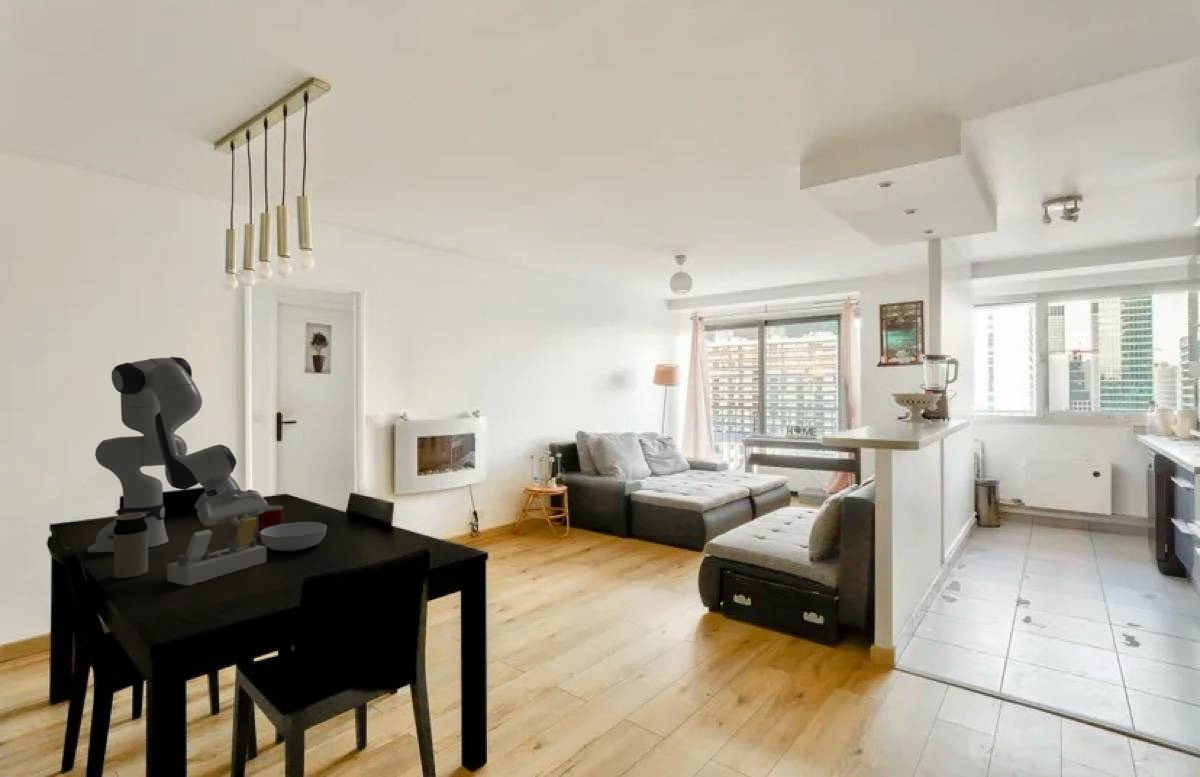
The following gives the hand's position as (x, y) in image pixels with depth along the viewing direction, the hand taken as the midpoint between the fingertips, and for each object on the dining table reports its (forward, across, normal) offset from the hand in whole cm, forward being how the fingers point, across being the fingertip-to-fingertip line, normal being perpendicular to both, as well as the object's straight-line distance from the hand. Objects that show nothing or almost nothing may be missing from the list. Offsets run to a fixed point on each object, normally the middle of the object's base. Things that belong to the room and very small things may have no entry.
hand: (245, 527), depth 187 cm
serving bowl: (+7, -19, -10) cm, 23 cm away
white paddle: (+3, +16, -4) cm, 16 cm away
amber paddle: (+3, +1, -4) cm, 6 cm away
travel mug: (-7, +22, -23) cm, 33 cm away
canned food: (-8, -25, -26) cm, 37 cm away
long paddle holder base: (+8, +8, -8) cm, 14 cm away
